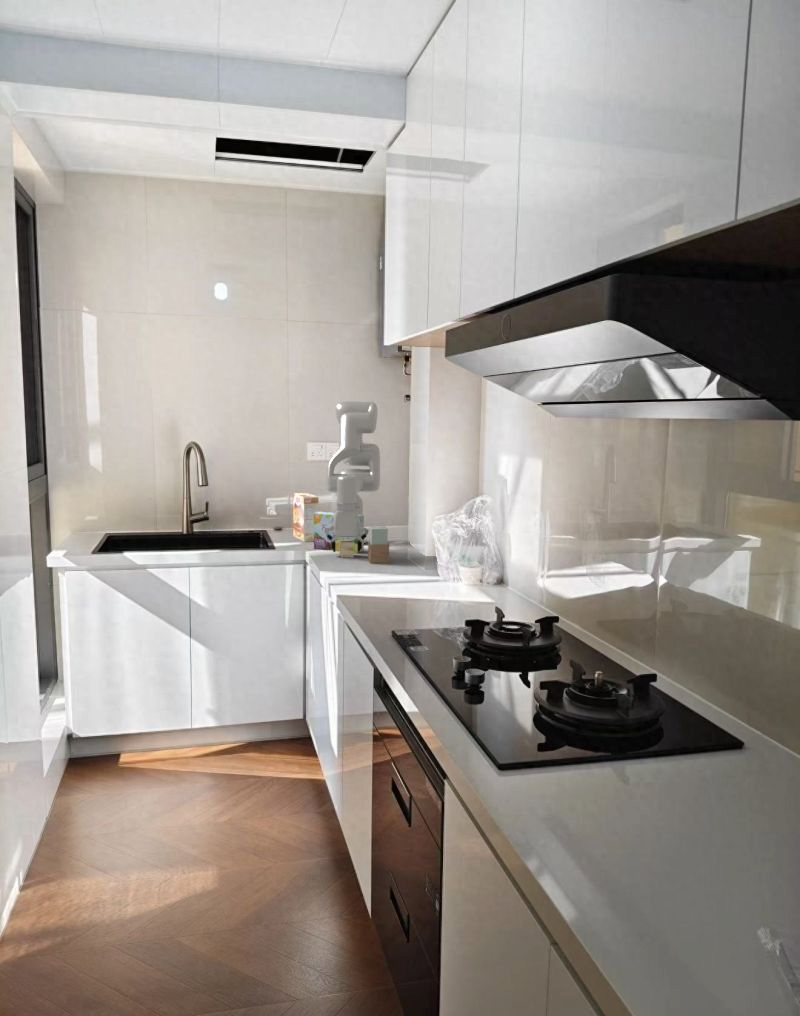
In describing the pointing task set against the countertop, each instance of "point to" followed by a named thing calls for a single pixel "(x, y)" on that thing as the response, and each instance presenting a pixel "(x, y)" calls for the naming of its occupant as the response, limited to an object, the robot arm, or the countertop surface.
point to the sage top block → (378, 535)
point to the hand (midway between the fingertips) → (346, 551)
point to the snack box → (331, 532)
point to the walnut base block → (378, 553)
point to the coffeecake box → (304, 516)
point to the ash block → (346, 548)
